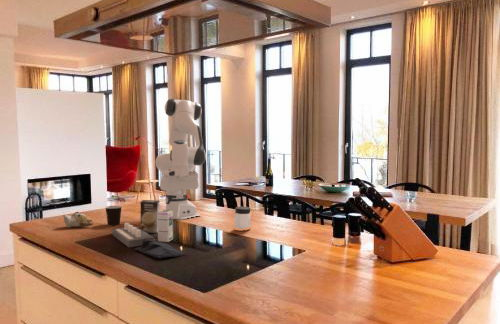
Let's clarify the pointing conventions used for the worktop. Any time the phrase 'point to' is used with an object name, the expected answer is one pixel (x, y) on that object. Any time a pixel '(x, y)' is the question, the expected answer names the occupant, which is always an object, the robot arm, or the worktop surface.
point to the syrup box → (165, 225)
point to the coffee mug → (113, 215)
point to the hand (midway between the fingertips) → (179, 198)
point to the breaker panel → (130, 237)
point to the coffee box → (149, 216)
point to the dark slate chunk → (158, 249)
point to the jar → (242, 217)
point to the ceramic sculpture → (77, 220)
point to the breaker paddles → (132, 230)
